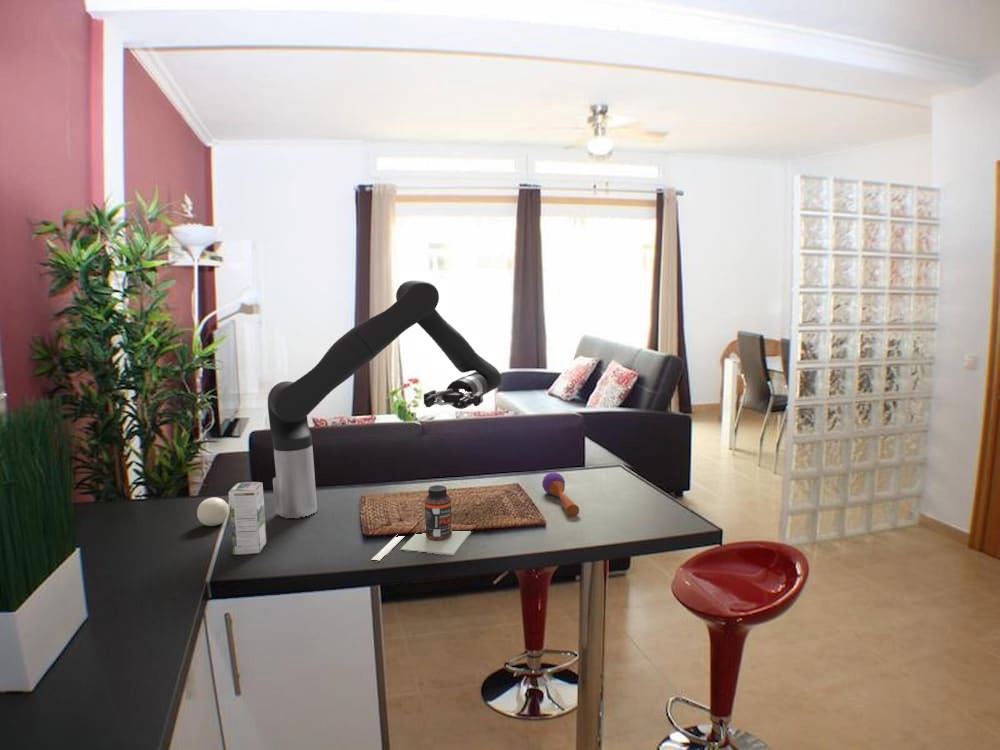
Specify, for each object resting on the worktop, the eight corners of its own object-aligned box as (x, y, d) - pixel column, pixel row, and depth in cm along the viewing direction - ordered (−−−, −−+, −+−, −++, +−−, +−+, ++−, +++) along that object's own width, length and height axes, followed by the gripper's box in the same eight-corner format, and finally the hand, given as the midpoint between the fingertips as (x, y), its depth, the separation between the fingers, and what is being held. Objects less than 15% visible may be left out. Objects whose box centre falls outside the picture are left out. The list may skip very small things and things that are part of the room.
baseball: (236, 520, 162) (234, 494, 161) (215, 531, 155) (212, 504, 154) (214, 517, 164) (212, 492, 163) (192, 528, 157) (189, 501, 156)
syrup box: (241, 544, 147) (235, 482, 145) (268, 543, 147) (262, 480, 145) (232, 555, 141) (226, 490, 139) (261, 553, 142) (255, 489, 139)
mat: (400, 550, 141) (400, 548, 141) (427, 522, 157) (427, 521, 157) (453, 555, 138) (453, 553, 138) (475, 526, 153) (475, 525, 153)
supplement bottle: (442, 543, 144) (440, 493, 142) (420, 538, 146) (418, 490, 145) (457, 533, 149) (455, 485, 147) (435, 529, 152) (433, 482, 150)
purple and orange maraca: (558, 503, 157) (538, 472, 176) (563, 525, 158) (542, 492, 178) (582, 496, 158) (559, 466, 177) (586, 518, 159) (562, 486, 178)
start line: (371, 560, 137) (371, 559, 137) (412, 521, 158) (412, 520, 158) (380, 561, 136) (380, 560, 136) (420, 522, 157) (420, 521, 157)
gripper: (438, 377, 174) (415, 387, 159) (490, 378, 170) (471, 389, 155) (440, 404, 175) (416, 418, 160) (491, 406, 171) (472, 420, 156)
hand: (443, 403), depth 157 cm, fingers open, 8 cm apart
